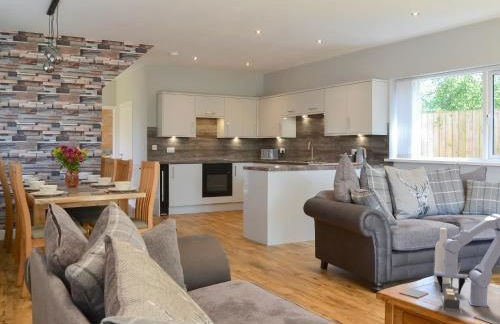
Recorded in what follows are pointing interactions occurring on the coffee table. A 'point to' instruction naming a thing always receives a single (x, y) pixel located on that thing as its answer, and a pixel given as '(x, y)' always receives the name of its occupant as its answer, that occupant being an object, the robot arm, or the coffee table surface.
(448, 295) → the tan wooden block
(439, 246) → the bottle
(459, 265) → the wine glass
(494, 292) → the coffee table surface
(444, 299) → the endcap rail
